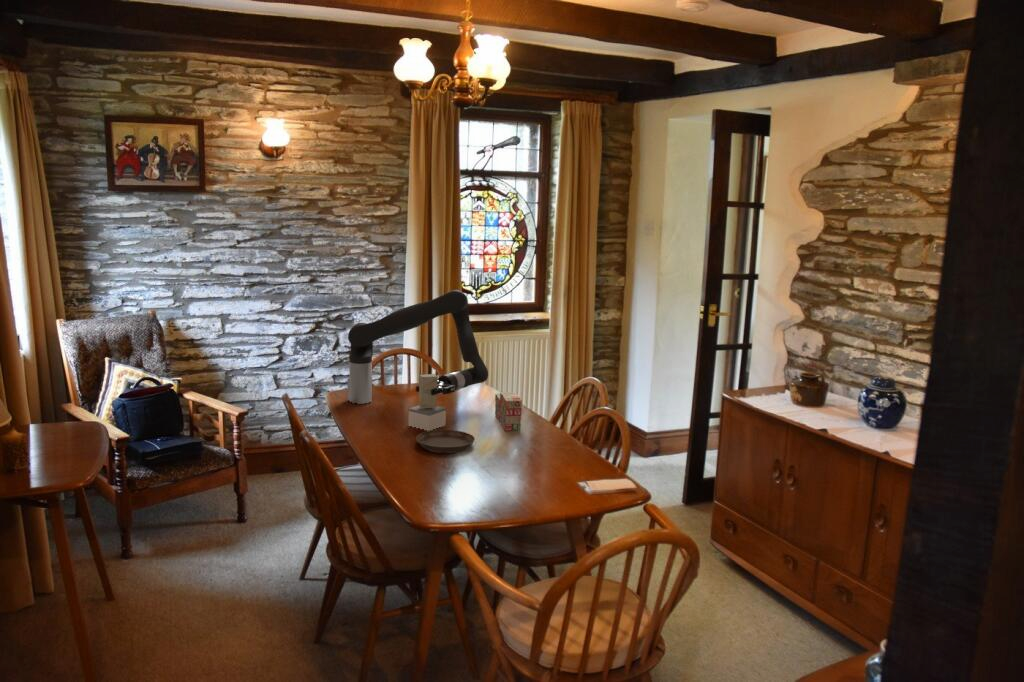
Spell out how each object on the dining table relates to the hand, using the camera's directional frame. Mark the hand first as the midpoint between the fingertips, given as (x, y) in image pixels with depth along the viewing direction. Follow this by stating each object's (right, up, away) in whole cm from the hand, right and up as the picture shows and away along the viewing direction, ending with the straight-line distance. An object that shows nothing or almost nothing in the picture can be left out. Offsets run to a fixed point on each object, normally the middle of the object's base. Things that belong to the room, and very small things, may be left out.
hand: (424, 390), depth 293 cm
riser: (+1, -14, +4) cm, 14 cm away
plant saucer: (+9, -19, -18) cm, 27 cm away
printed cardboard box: (+31, -14, +13) cm, 37 cm away
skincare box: (+1, -6, +3) cm, 7 cm away
